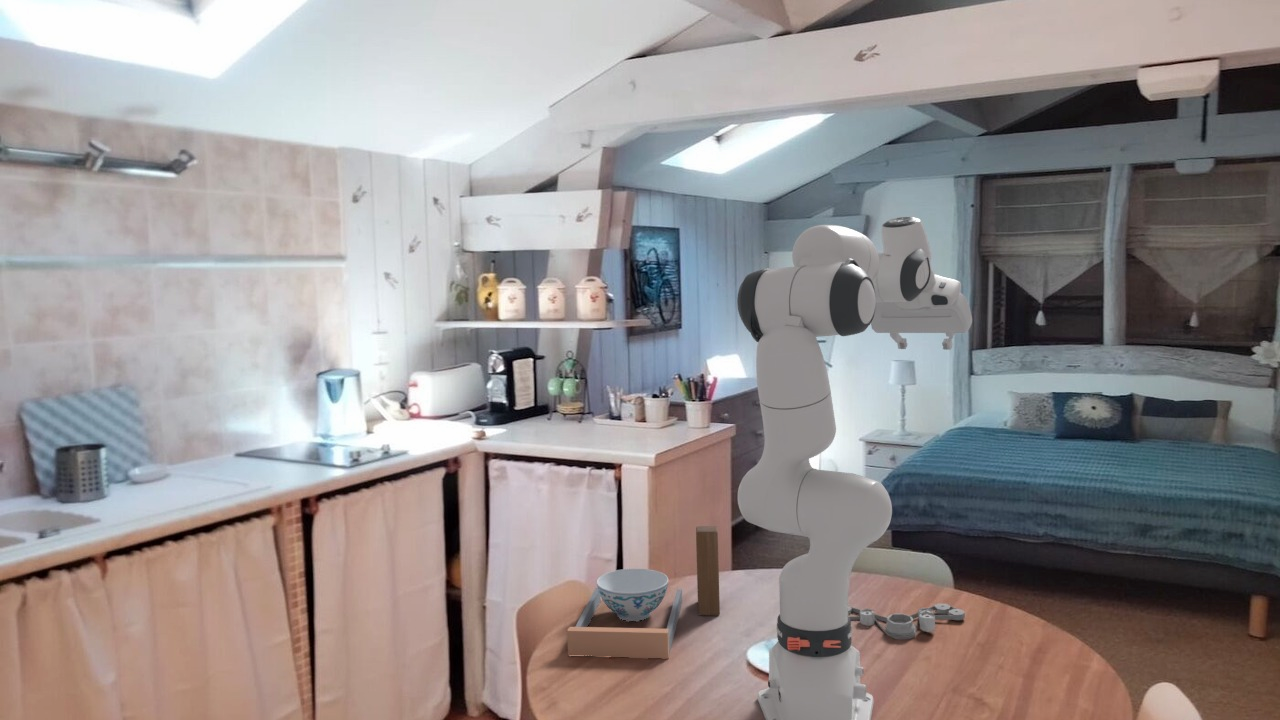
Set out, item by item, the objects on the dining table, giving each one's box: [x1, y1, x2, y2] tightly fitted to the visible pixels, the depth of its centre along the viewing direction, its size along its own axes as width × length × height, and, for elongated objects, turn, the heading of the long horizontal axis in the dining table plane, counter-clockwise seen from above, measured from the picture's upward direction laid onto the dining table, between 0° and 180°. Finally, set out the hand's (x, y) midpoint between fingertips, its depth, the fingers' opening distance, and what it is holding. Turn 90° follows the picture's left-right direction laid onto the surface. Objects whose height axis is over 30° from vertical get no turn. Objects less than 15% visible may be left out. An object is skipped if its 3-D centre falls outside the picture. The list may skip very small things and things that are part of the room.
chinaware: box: [596, 568, 669, 622], centre depth 191 cm, size 15×15×8 cm
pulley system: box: [848, 602, 966, 640], centre depth 182 cm, size 27×5×15 cm
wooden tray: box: [566, 587, 683, 660], centre depth 184 cm, size 29×19×5 cm, turn 172°
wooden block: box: [695, 525, 721, 616], centre depth 193 cm, size 9×4×18 cm, turn 176°
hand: (925, 347), depth 191 cm, fingers open, 8 cm apart
